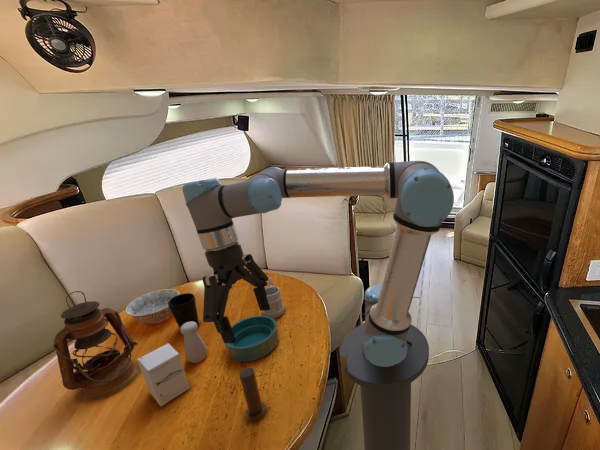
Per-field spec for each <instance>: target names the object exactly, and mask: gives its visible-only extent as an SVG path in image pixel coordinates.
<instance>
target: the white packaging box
mask: <svg viewBox="0 0 600 450" xmlns="http://www.w3.org/2000/svg"><path fill="white" fill-rule="evenodd" d="M136 361H137V364H138V367H139V370H140V371H141V374H142V377H143V379H144V382H145V384H146V386H147V389H148V392H149V394H150V396H152V397H153V399H154V400H155V402H156V403H157V404H158V405H159V406H160V407H161V408H162V407H163V406H165V405H166V404H168V403H170V401H172V400H173V399H175V398H177V397H178V396H180V395H182V394H183V393H185V392H186V391H188V390H189V389H191V385H190V382H189V380H188V377H187V374H186V371H185V368H184V364H183V361H182V358H181V355H180V353H179V352H178V351H177V350H176V349H175V348H174V347H173V346H172V345H171V344H170V343H165V344H163V345H162V346H160V347H158V348H156V349H154V350H152V351H150V352H148V353H146V354H145V355H143V356H140V357H138V358H136Z"/></svg>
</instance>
